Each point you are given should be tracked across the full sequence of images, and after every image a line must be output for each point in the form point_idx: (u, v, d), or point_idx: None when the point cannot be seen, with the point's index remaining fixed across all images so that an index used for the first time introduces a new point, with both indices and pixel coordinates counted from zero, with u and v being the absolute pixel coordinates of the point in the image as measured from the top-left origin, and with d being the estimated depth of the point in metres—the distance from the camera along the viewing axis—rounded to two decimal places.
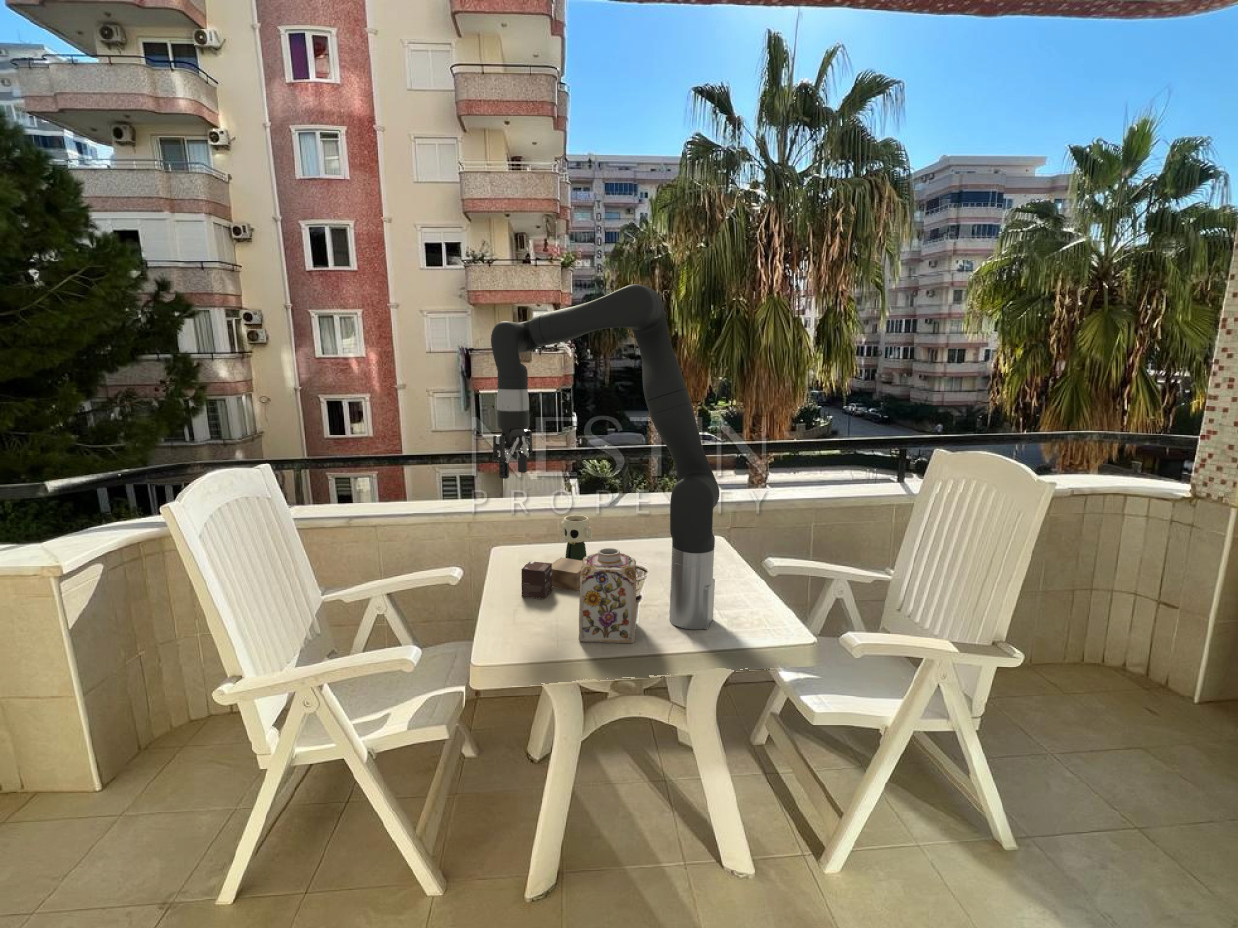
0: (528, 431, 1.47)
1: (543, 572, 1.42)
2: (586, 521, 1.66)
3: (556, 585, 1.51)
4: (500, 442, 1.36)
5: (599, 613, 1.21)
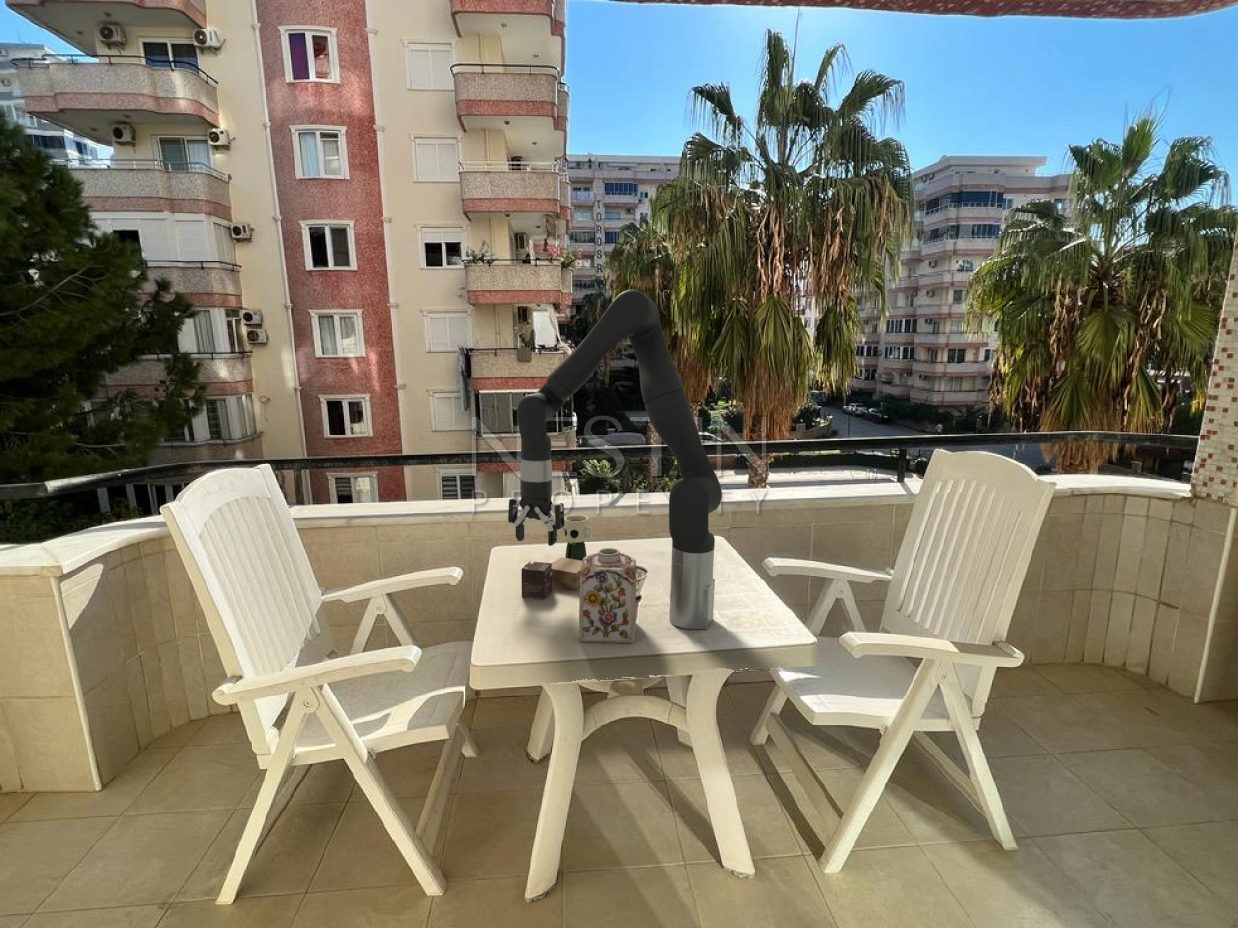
0: (517, 498, 1.46)
1: (543, 572, 1.42)
2: (586, 521, 1.66)
3: (556, 585, 1.51)
4: (563, 509, 1.41)
5: (599, 613, 1.21)
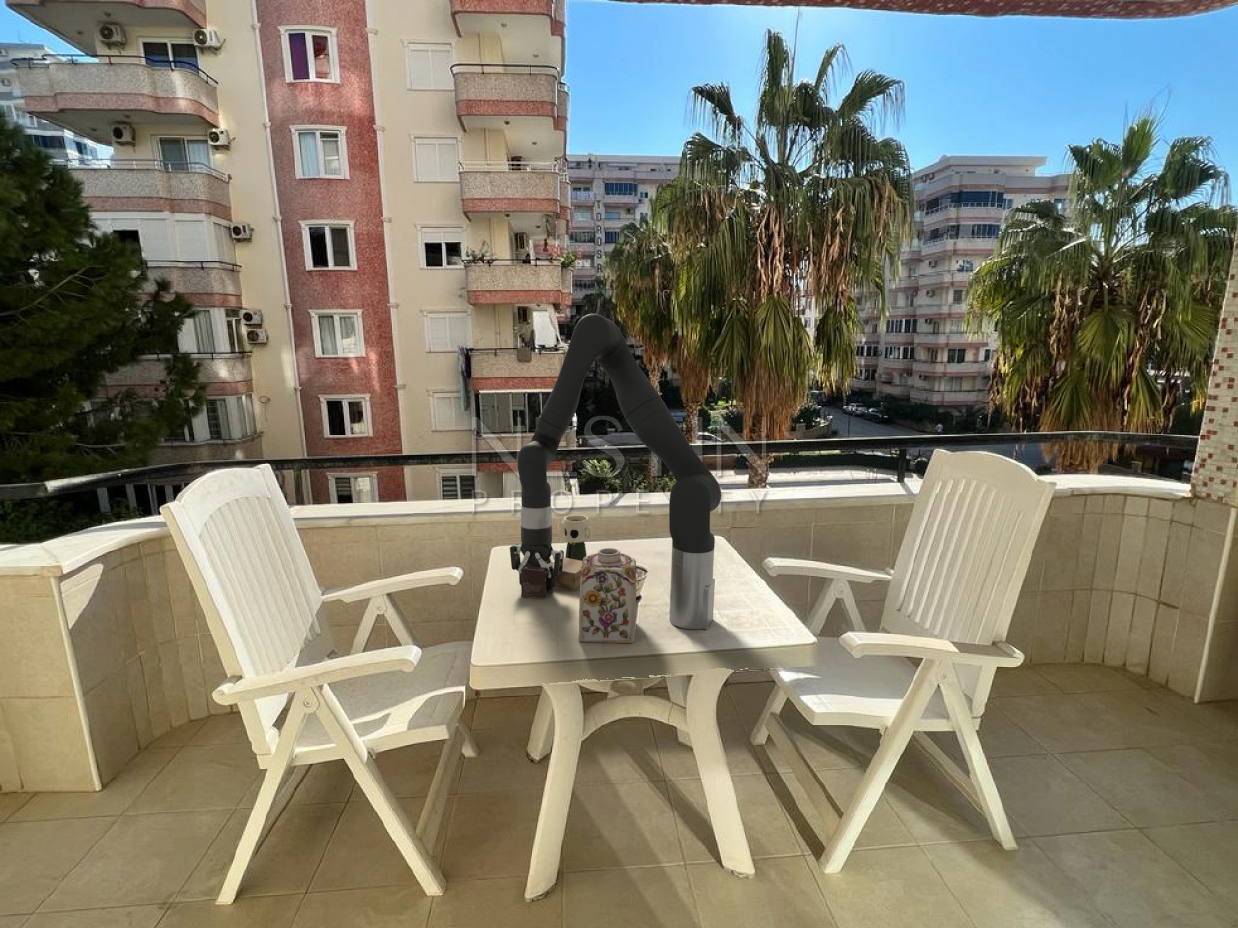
0: (517, 545, 1.48)
1: (543, 572, 1.42)
2: (586, 521, 1.66)
3: (555, 585, 1.51)
4: (562, 557, 1.43)
5: (599, 613, 1.21)
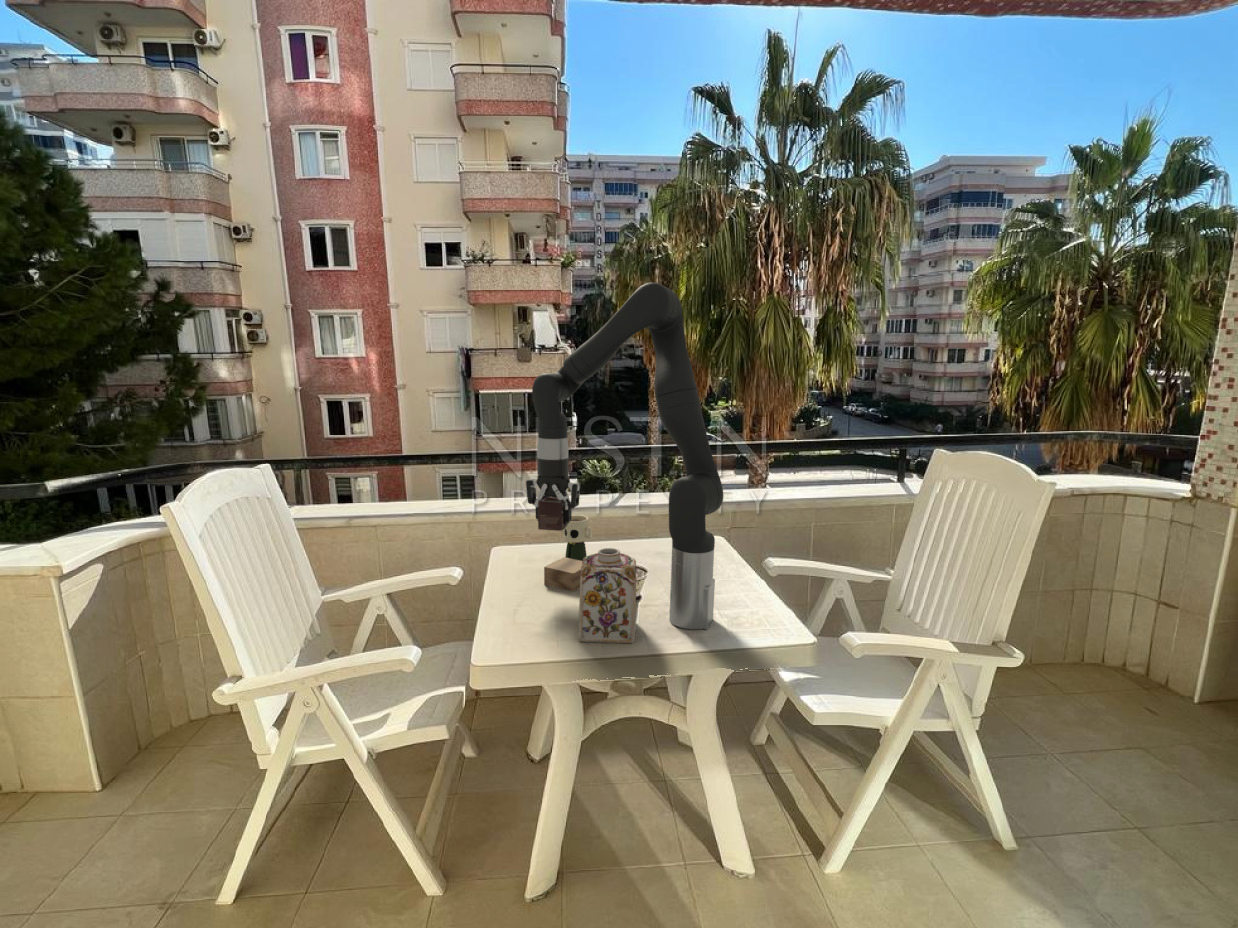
0: (533, 479, 1.48)
1: (560, 503, 1.43)
2: (586, 521, 1.66)
3: (554, 584, 1.51)
4: (579, 489, 1.44)
5: (599, 613, 1.21)
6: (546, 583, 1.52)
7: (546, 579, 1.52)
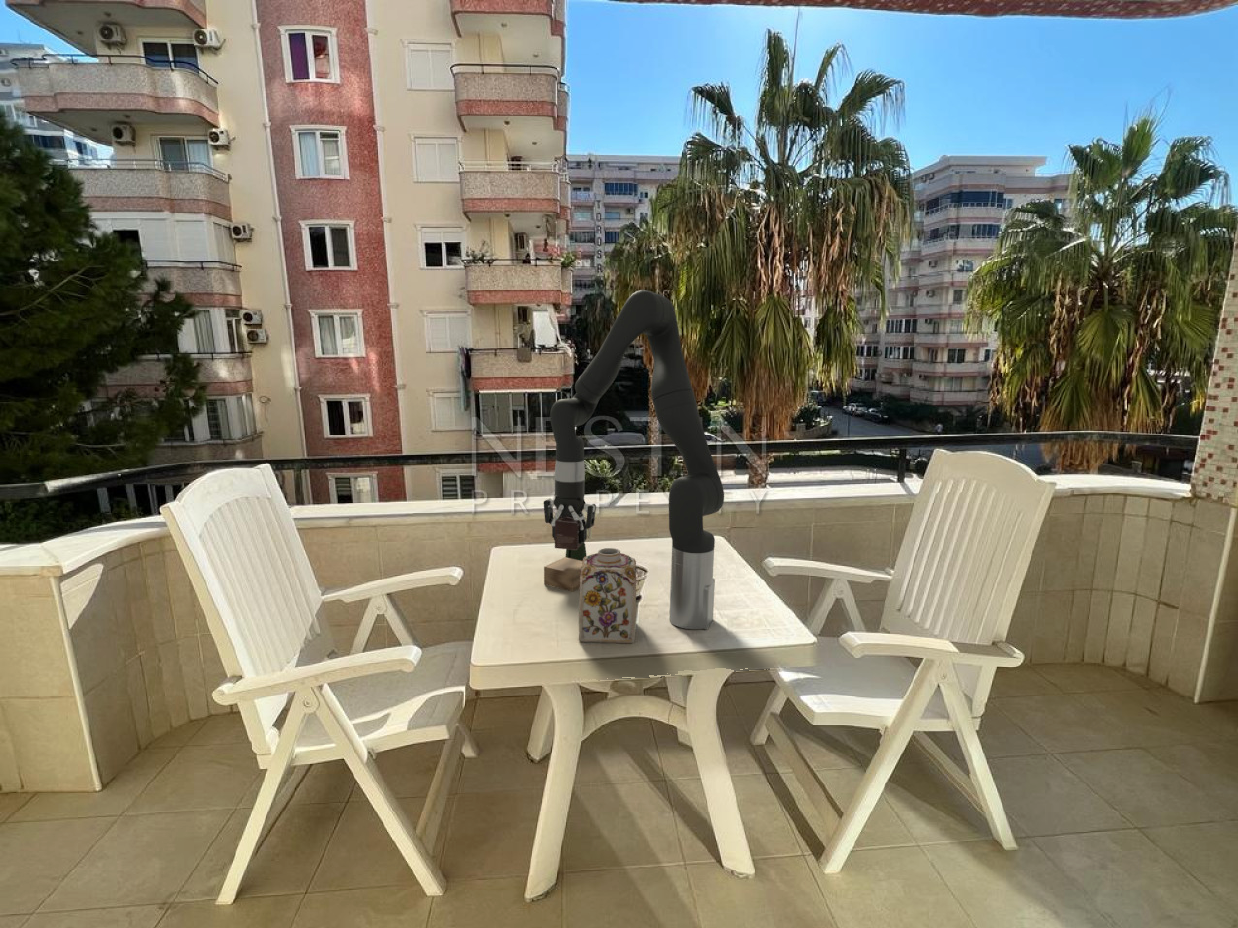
0: (550, 499, 1.54)
1: (576, 524, 1.48)
2: None
3: (554, 584, 1.51)
4: (594, 510, 1.49)
5: (599, 613, 1.21)
6: (546, 583, 1.52)
7: (546, 579, 1.52)
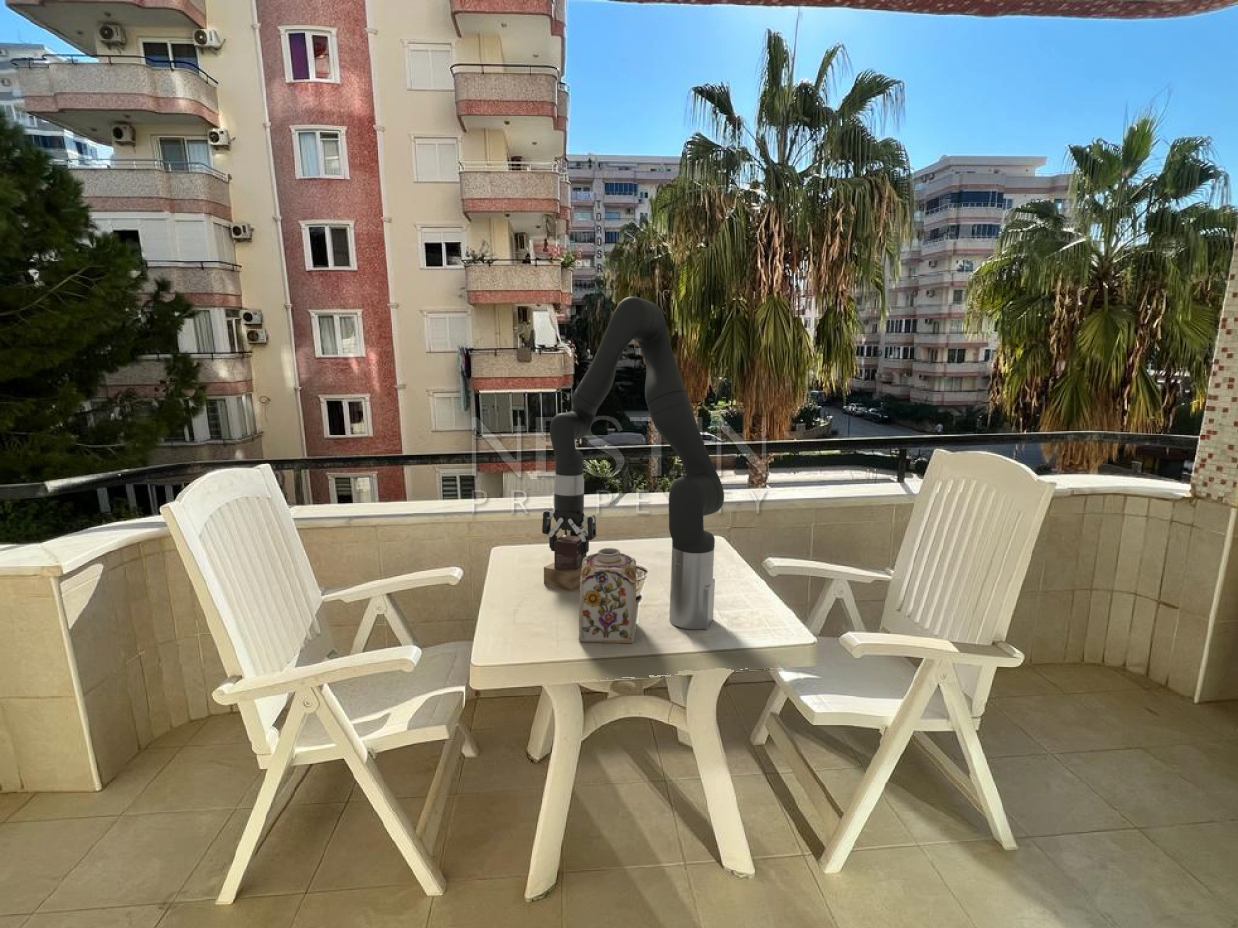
0: (550, 511, 1.54)
1: (575, 544, 1.49)
2: None
3: (553, 585, 1.51)
4: (594, 521, 1.50)
5: (599, 613, 1.21)
6: (545, 583, 1.53)
7: (545, 579, 1.52)
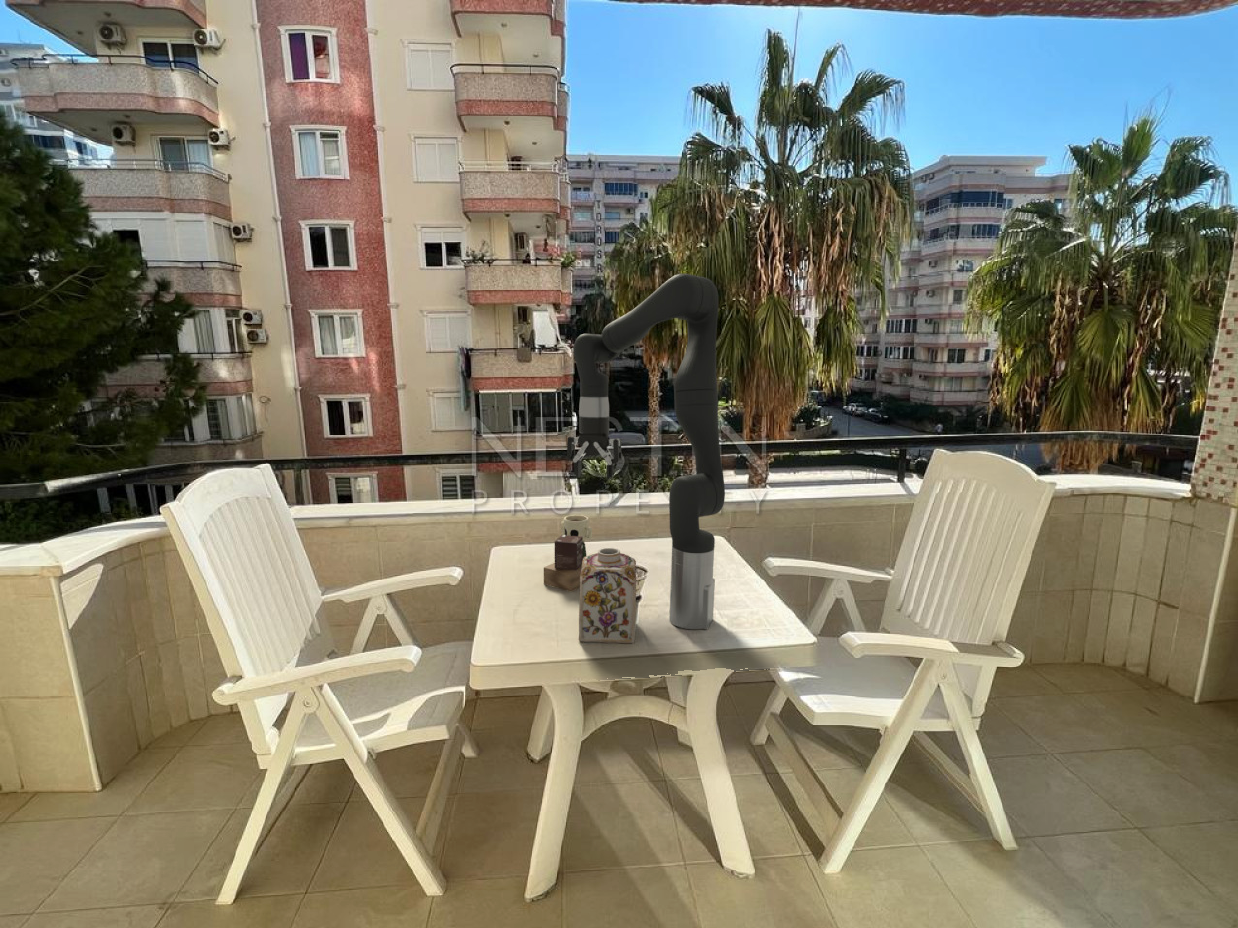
0: (574, 437, 1.54)
1: (575, 544, 1.49)
2: (586, 521, 1.66)
3: (553, 585, 1.51)
4: (620, 444, 1.50)
5: (599, 613, 1.21)
6: None
7: (545, 580, 1.53)
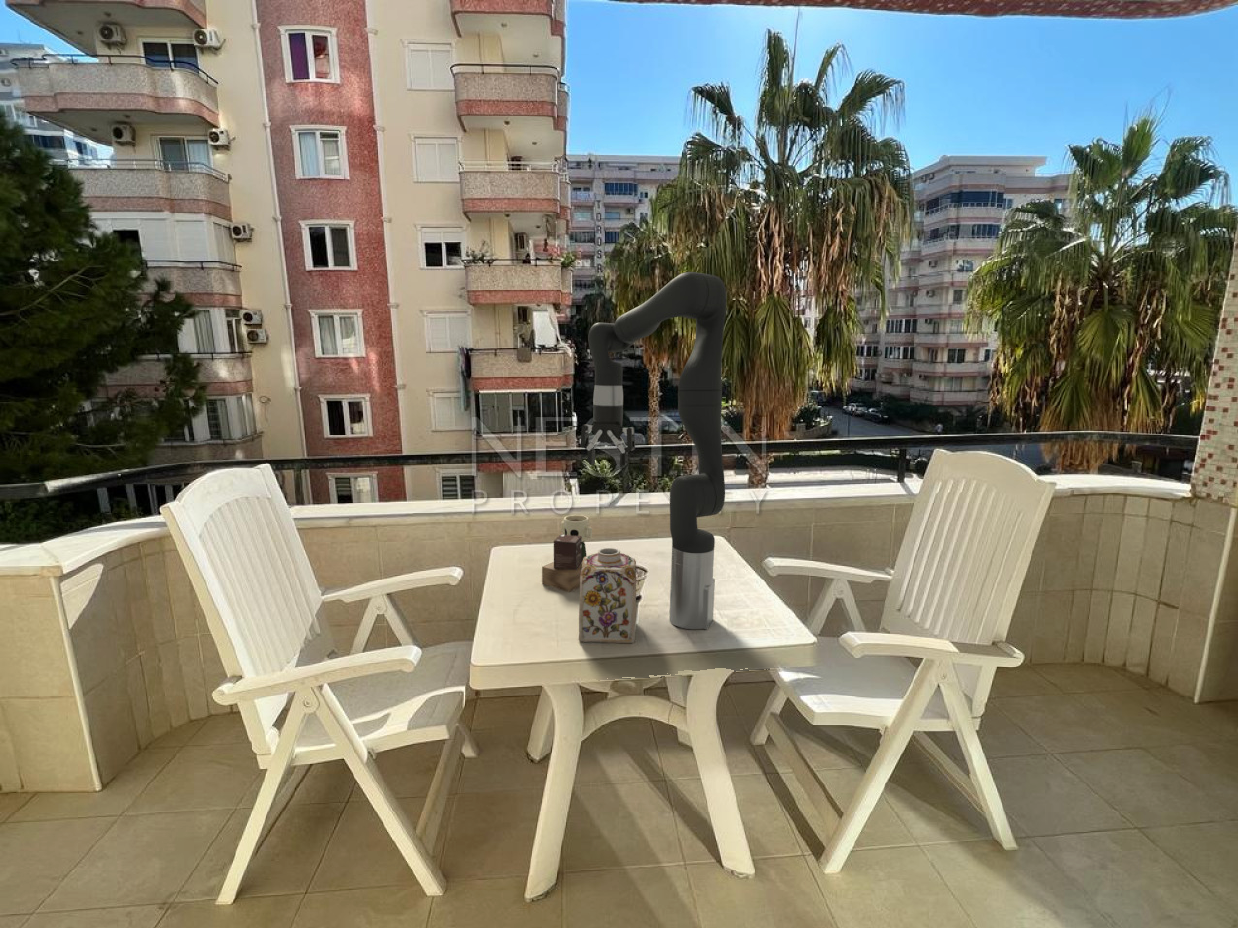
0: None
1: (575, 543, 1.49)
2: (586, 521, 1.66)
3: (551, 584, 1.51)
4: (633, 433, 1.51)
5: (599, 613, 1.21)
6: (544, 583, 1.53)
7: (544, 579, 1.53)
